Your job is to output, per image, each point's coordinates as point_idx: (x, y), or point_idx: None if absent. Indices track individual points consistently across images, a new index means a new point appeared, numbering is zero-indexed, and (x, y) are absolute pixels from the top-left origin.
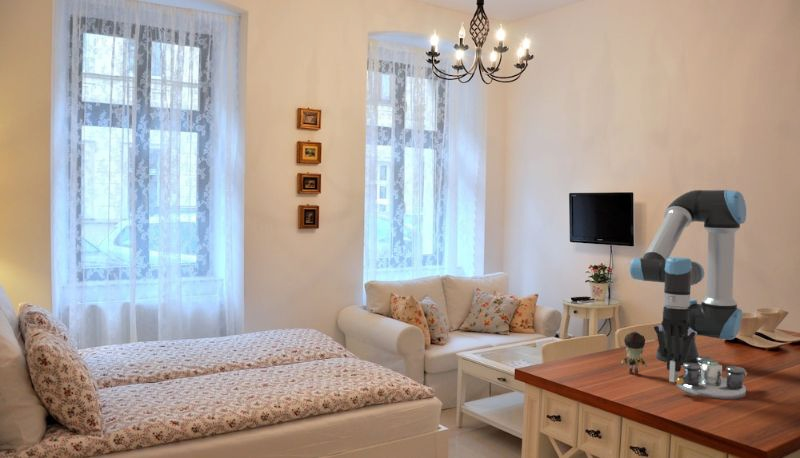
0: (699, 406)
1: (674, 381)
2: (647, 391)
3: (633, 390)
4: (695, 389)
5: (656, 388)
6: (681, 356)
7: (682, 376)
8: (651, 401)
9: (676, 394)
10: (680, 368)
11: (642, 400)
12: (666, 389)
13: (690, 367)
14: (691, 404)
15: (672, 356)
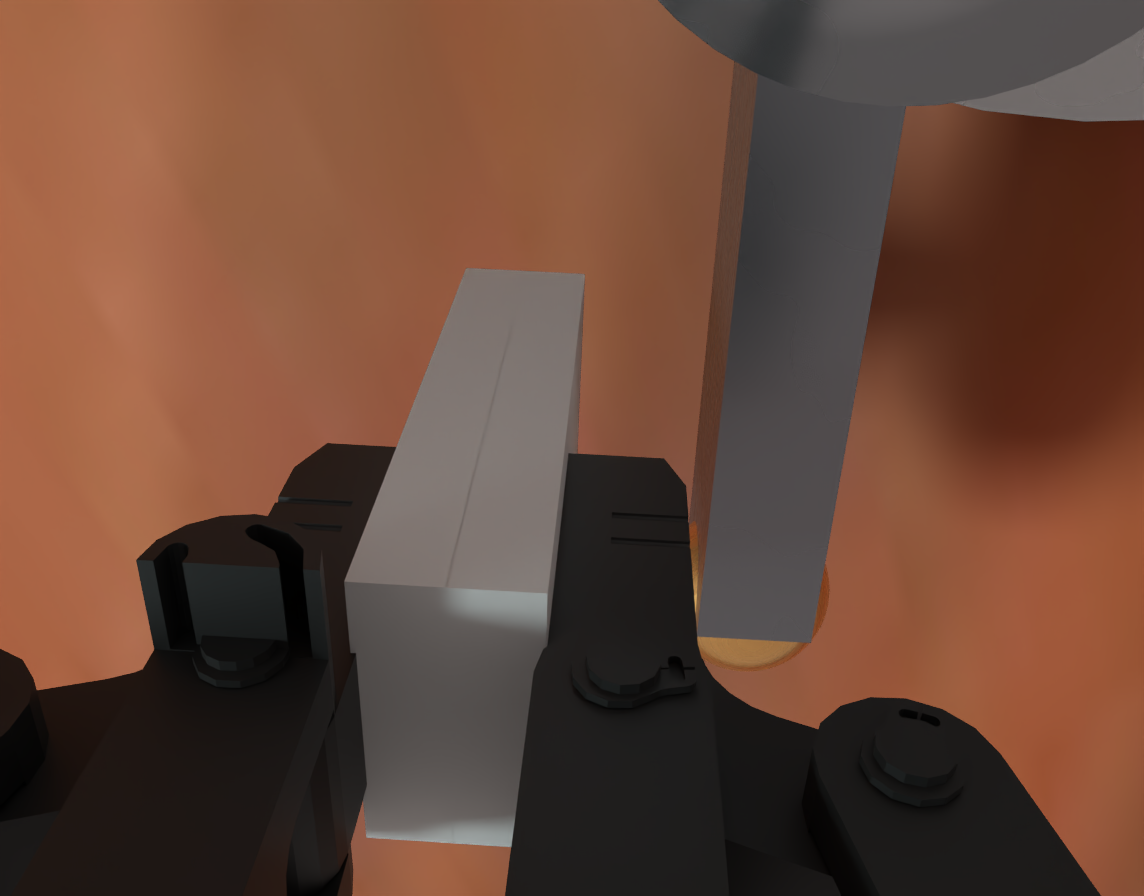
0: (1092, 666)
1: (577, 436)
2: (217, 501)
3: (57, 594)
4: (977, 105)
5: (213, 220)
6: (713, 822)
7: (772, 539)
8: (490, 849)
9: (638, 327)
10: (685, 535)
11: (392, 876)
12: (372, 139)
13: (939, 95)
14: (972, 655)
15: (300, 740)
